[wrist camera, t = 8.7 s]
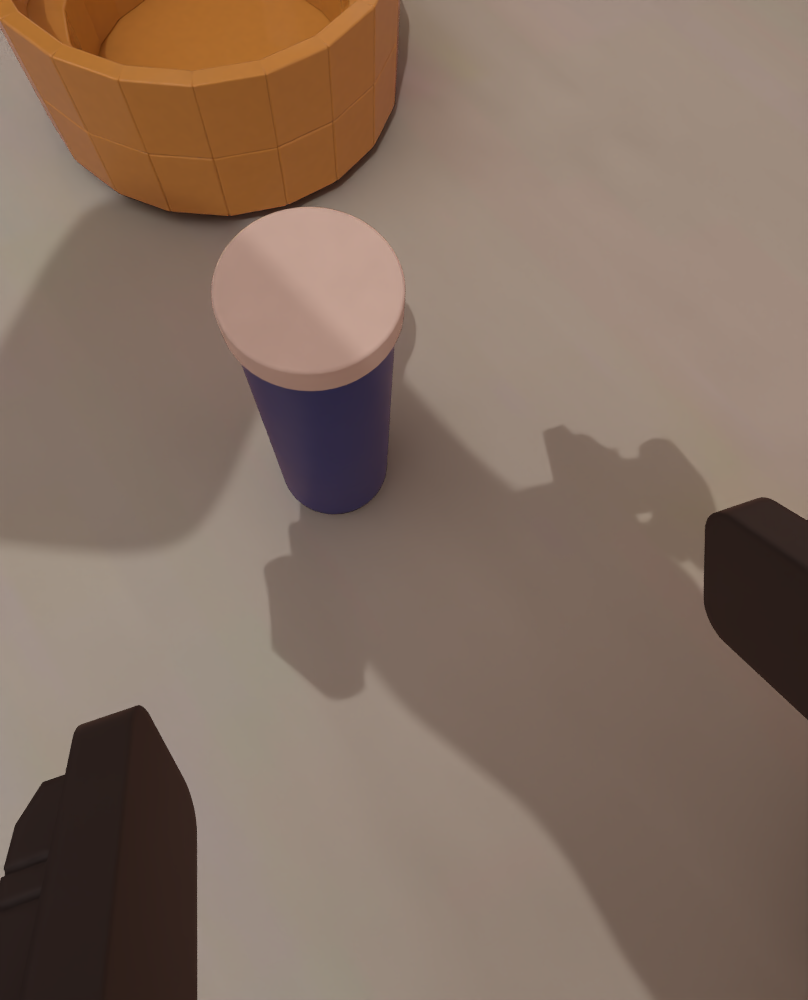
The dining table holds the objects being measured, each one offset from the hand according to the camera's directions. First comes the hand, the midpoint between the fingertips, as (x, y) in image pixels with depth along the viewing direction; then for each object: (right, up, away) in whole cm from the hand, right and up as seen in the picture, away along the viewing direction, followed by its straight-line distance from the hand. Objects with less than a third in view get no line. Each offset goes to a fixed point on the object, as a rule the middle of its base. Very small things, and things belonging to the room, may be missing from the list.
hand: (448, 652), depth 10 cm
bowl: (-8, +18, +18) cm, 27 cm away
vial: (-3, +3, +13) cm, 14 cm away
